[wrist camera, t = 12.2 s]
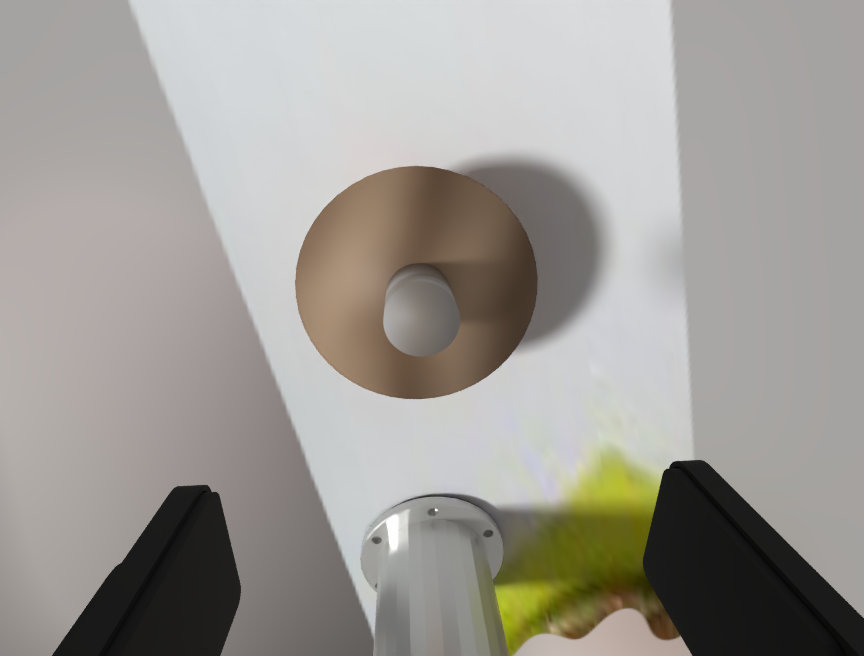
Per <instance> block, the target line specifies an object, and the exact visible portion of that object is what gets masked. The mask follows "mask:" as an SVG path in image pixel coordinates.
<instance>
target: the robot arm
mask: <svg viewBox="0 0 864 656" xmlns="http://www.w3.org/2000/svg"><path fill="white" fill-rule="evenodd" d="M503 557H504V547H503V542H502V538H501V534H500V531H499V529H498V527H497V525H496V523H495V522H494V521H493V519H492V518H491V517H490V516H489V515H488V514H487V513H486V512H484V511H483V510H482V509H481V508H479V507H477V506H475V505H473V504H471V503H469V502H466V501H463V500H459V499H456V498H448V497H425V498H419V499H414V500H411V501H408V502H404V503H401V504H399V505H397V506H395V507H393V508H391V509H389V510H388V511H387V512H385V513H384V514H383V515H381V516H380V517H379V518H378V519H377V520H376V521H375V522H374V523H373V524H372V525H371V526H370V528H369V530H368V531H367V533H366V535H365V537H364V540H363V543H362V549H361V558H360V560H361V569H362V572H363V575H364V577H365V579H366V581H367V582H368V584H369V585H370V586H371V587H372V588H373V589H374V590H375V591H376V592H377V600H376V619H375V637H374V656H509V653H508V648H507V644H506V639H505V634H504V630H503V625H502V620H501V616H500V611H499V607H498V602H497V597H496V593H495V588H494V583H493V579H494V578H495V577H496V575H497V574H498V572H499V570H500V568H501V566H502V562H503ZM643 567H644V572H645V574H646V577H647V579H648V581H649V582H650V584H651V586H652V587H653V589H654V591H655V593H656V594H657V596H658V598H659V599H660V601H661V603H662V605H663V606H664V608H665V610H666V611H667V613H668V615H669V616H670V618H671V620H672V622H673V623H674V625H675V627H676V628H677V630H678V632H679V634H680V635H681V637H682V639H683V640H684V642H685V644H686V646H687V647H688V649H689V650H690V652H691V654H692V656H864V618H863V617H862V616H861V615H860V614H859V613H857V611H856V610H854V608H853V607H852V606H851V605H850V604H849V603H848V602H847V601H845V599H844V598H843V597H842V596H841V595H840V594H839V593H837V591H836V590H834V588H833V587H831V585H829V583H828V582H826V580H825V579H824V578H823V577H821V576H820V574H819V573H818V572H816V570H815V569H813V567H811V566H810V565H809V564H808V563H807V562H806V561H805V560H804V559H803V558H802V557H801V556H800V555H799V554H798V553H797V552H796V551H795V550H794V549H793V548H792V547H791V546H790V545H789V544H788V543H787V542H786V541H785V540H784V539H783V538H782V537H781V536H780V535H779V534H778V533H777V532H776V531H775V530H774V529H773V528H772V527H771V526H770V525H769V524H768V523H767V522H766V521H765V520H764V519H763V518H762V517H761V516H760V515H759V514H758V513H757V512H756V511H755V510H754V509H753V508H752V507H751V506H750V505H749V504H748V503H747V502H746V501H745V500H744V499H743V498H742V497H741V496H740V495H739V494H738V493H737V492H736V491H735V490H734V489H733V488H732V487H731V486H730V485H729V484H728V483H727V482H726V481H725V480H724V479H723V478H722V477H721V476H720V475H719V474H718V473H717V472H716V471H715V470H714V469H713V468H712V467H711V466H710V465H709V464H708V463H706V462H705V461H702V460H691V461H675V462H673V463H672V464H671V465H670V467H669V469H666V470H665V471H664V473H663V476H662V480H661V484H660V489H659V493H658V497H657V502H656V506H655V510H654V514H653V519H652V523H651V527H650V531H649V536H648V540H647V544H646V548H645V553H644V557H643ZM240 593H241V585H240V580H239V576H238V572H237V568H236V563H235V559H234V555H233V551H232V547H231V542H230V539H229V534H228V530H227V525H226V521H225V517H224V513H223V508H222V504H221V500H220V496H219V494H218V493H217V492H211V489H210V488H209V486H208V485H196V486H177V487H175V488H174V489H173V490H172V491H171V492H170V494H169V495H168V497H167V498H166V500H165V501H164V502H163V504H162V505H161V507H160V508H159V510H158V511H157V512H156V514H155V515H154V517H153V518H152V520H151V521H150V523H149V524H148V525H147V527H146V528H145V530H144V531H143V533H142V534H141V536H140V537H139V539H138V540H137V542H136V543H135V544H134V546H133V547H132V549H131V550H130V551H129V553H128V554H127V556H126V558H125V559H124V560H123V562H122V563H120V564H119V565H117V566H116V567H115V568H114V569H113V570H112V572H111V573H110V574H109V575H108V577H107V578H106V579H105V581H104V582H103V584H102V585H101V587H100V588H99V589H98V591H97V592H96V594H95V595H94V597H93V598H92V599H91V601H90V602H89V604H88V605H87V606H86V608H85V609H84V611H83V612H82V614H81V615H80V616H79V618H78V619H77V621H76V622H75V624H74V625H73V626H72V628H71V629H70V631H69V632H68V634H67V635H66V636H65V638H64V639H63V641H62V642H61V644H60V645H59V646H58V648H57V649H56V651H55V652H54V653H53V655H52V656H220V655H221V652H222V649H223V646H224V644H225V641H226V638H227V635H228V633H229V630H230V627H231V624H232V622H233V619H234V616H235V613H236V611H237V608H238V605H239V600H240Z"/></svg>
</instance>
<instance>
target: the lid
mask: <svg viewBox="0 0 864 656" xmlns="http://www.w3.org/2000/svg"><path fill="white" fill-rule="evenodd" d="M295 286H296V299H297V305H298V310H299V314H300V317H301V320H302V323H303V326H304V328H305V330H306V332H307V334H308V336H309V338H310V340H311V342H312V343H313V345H314V346H315V348H316V349H317V350H318V352H319V353H320V354H321V356H322V357H323V358H324V359H325V360H326V361H327V362H328V363H329V364H330V365H331V366H332V367H333V368H334V369H335V370H336V371H338V372H339V373H340V374H341V375H343V376H344V377H346V378H347V379H349V380H350V381H351V382H353V383H355V384H357V385H359V386H361V387H363V388H365V389H368V390H370V391H373V392H376V393H378V394H382V395H386V396H390V397H397V398H404V399H426V398H435V397H440V396H445V395H449V394H452V393H455V392H458V391H461V390H463V389H466V388H468V387H470V386H472V385H474V384H476V383H478V382H479V381H481V380H482V379H484V378H486V377H487V376H489V375H490V374H491V373H492V372H494V371H495V370H496V369H497V368H499V367H500V366H501V365H502V364H503V363H504V362H505V361H506V360H507V359H508V357H509V356H510V355H511V354H512V352H513V351H514V350H515V349H516V347H517V346H518V344H519V342H520V341H521V339H522V338H523V336H524V334H525V332H526V330H527V327H528V325H529V323H530V320H531V317H532V314H533V310H534V307H535V301H536V295H537V270H536V262H535V258H534V254H533V250H532V246H531V244H530V241H529V239H528V237H527V234H526V232H525V230H524V229H523V227H522V225H521V223H520V222H519V220H518V218H517V217H516V216H515V215H514V213H513V212H512V211H511V209H510V208H509V207H508V206H507V205H506V204H505V203H504V202H503V201H502V200H501V199H500V198H499V197H498V196H497V195H496V194H494V193H493V192H492V191H490V190H489V189H487V188H486V187H485V186H483V185H482V184H480V183H478V182H476V181H474V180H472V179H470V178H468V177H466V176H463V175H460V174H458V173H455V172H452V171H449V170H445V169H440V168H435V167H424V166H409V167H398V168H393V169H389V170H384V171H381V172H378V173H375V174H373V175H370V176H367V177H365V178H364V179H362V180H360V181H358V182H356V183H354V184H352V185H351V186H349V187H348V188H347V189H345V190H344V191H343V192H341V193H340V194H339V195H337V196H336V197H335V198H334V199H333V200H332V201H331V202H330V203H329V204H328V205H327V206H326V207H325V208H324V209H323V210H322V212H321V213H320V214H319V216H318V217H317V218H316V220H315V221H314V222H313V224H312V226H311V228H310V230H309V231H308V233H307V235H306V237H305V240H304V242H303V245H302V248H301V250H300V254H299V258H298V263H297V268H296V280H295Z"/></svg>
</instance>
